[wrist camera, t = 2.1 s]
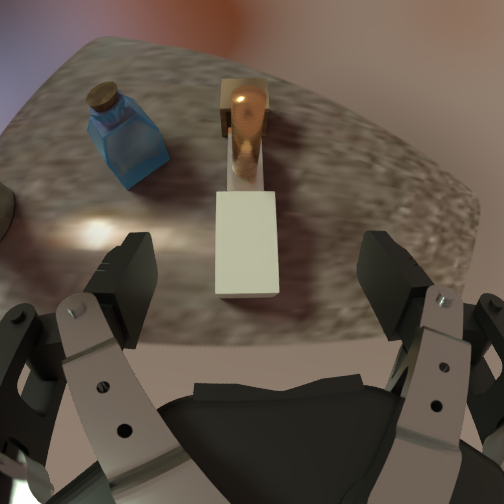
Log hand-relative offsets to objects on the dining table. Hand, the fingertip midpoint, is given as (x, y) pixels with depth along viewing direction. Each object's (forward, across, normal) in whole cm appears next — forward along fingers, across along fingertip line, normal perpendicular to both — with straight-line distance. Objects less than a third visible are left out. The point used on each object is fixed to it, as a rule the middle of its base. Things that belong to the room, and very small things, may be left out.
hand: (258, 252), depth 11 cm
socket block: (+28, 0, -2) cm, 28 cm away
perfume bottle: (+25, +13, +2) cm, 28 cm away
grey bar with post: (+19, 0, +6) cm, 20 cm away
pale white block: (+16, 0, +10) cm, 19 cm away
